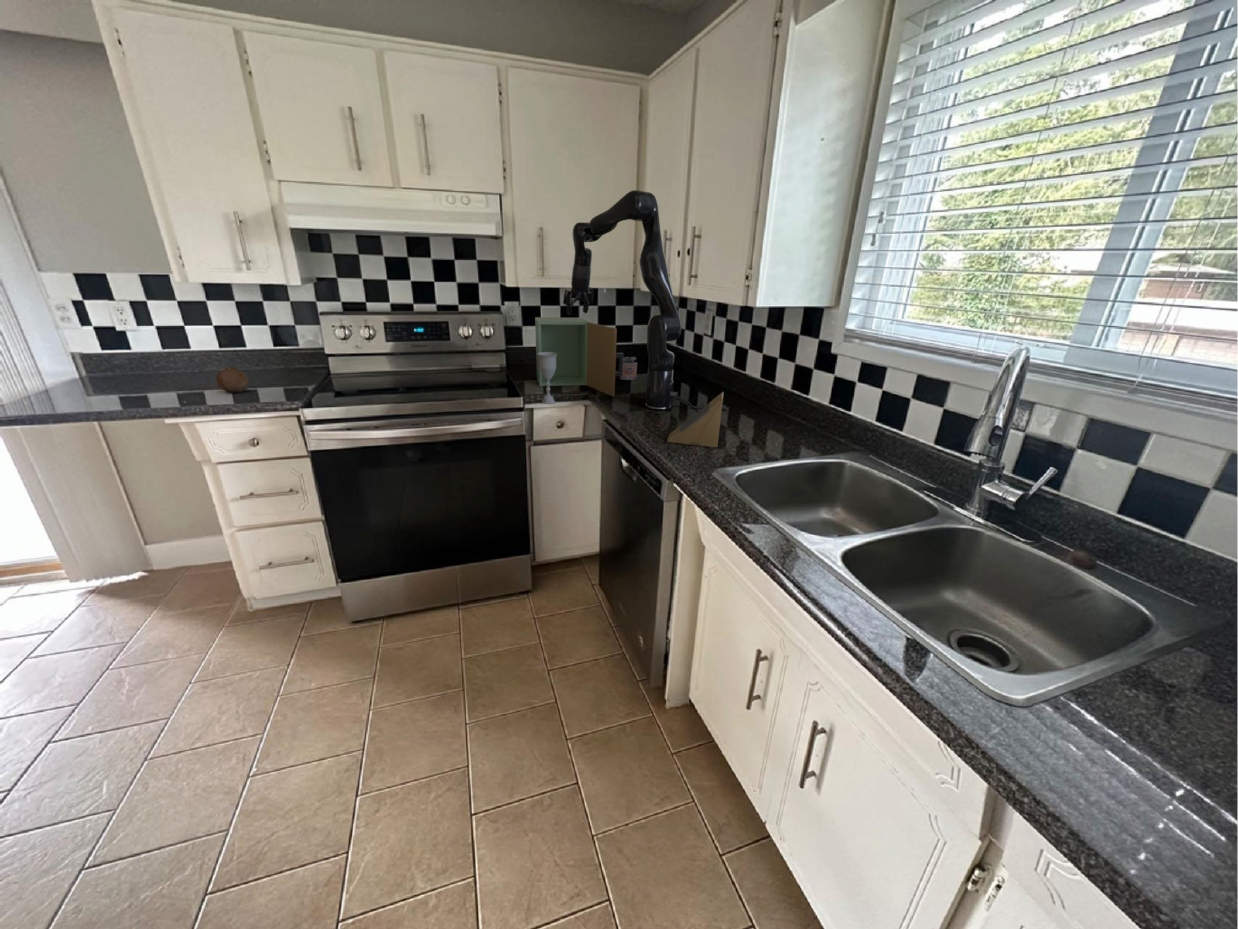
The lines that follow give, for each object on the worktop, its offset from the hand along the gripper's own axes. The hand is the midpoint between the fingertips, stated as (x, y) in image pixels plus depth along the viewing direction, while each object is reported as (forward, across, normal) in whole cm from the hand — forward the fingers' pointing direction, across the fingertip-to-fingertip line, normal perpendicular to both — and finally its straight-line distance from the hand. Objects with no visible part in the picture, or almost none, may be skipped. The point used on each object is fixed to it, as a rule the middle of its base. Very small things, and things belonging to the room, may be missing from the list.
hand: (577, 313), depth 215 cm
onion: (+33, -121, +46) cm, 134 cm away
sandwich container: (+5, -24, -90) cm, 93 cm away
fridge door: (+21, -5, -30) cm, 37 cm away
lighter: (+25, +17, -21) cm, 37 cm away
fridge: (+26, -12, -8) cm, 30 cm away
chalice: (+19, -35, -31) cm, 50 cm away
